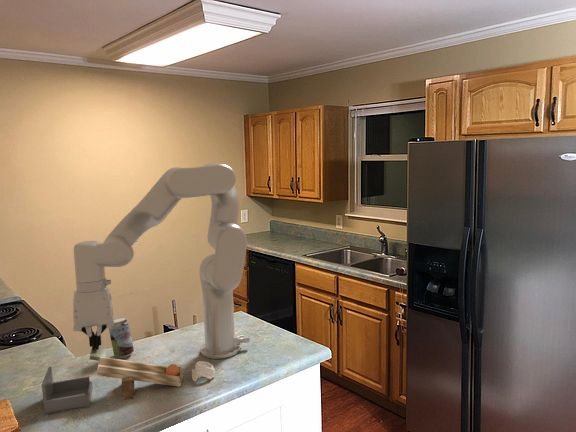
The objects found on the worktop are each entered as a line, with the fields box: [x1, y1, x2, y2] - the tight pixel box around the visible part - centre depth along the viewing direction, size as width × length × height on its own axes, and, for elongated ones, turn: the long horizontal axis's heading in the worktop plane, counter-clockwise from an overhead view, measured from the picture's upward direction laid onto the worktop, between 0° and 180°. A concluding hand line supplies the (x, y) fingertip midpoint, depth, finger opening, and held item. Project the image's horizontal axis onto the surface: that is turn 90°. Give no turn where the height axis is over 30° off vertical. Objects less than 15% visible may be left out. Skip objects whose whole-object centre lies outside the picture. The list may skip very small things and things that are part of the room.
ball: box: [166, 363, 180, 376], centre depth 128 cm, size 4×4×4 cm
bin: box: [41, 366, 94, 416], centre depth 120 cm, size 10×10×8 cm
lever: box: [89, 346, 184, 387], centre depth 129 cm, size 24×17×4 cm
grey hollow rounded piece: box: [191, 360, 216, 383], centre depth 132 cm, size 8×7×5 cm
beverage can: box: [108, 317, 135, 359], centre depth 146 cm, size 6×7×12 cm
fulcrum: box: [121, 377, 135, 401], centre depth 125 cm, size 3×10×5 cm, turn 18°
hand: (95, 348), depth 131 cm, fingers closed
